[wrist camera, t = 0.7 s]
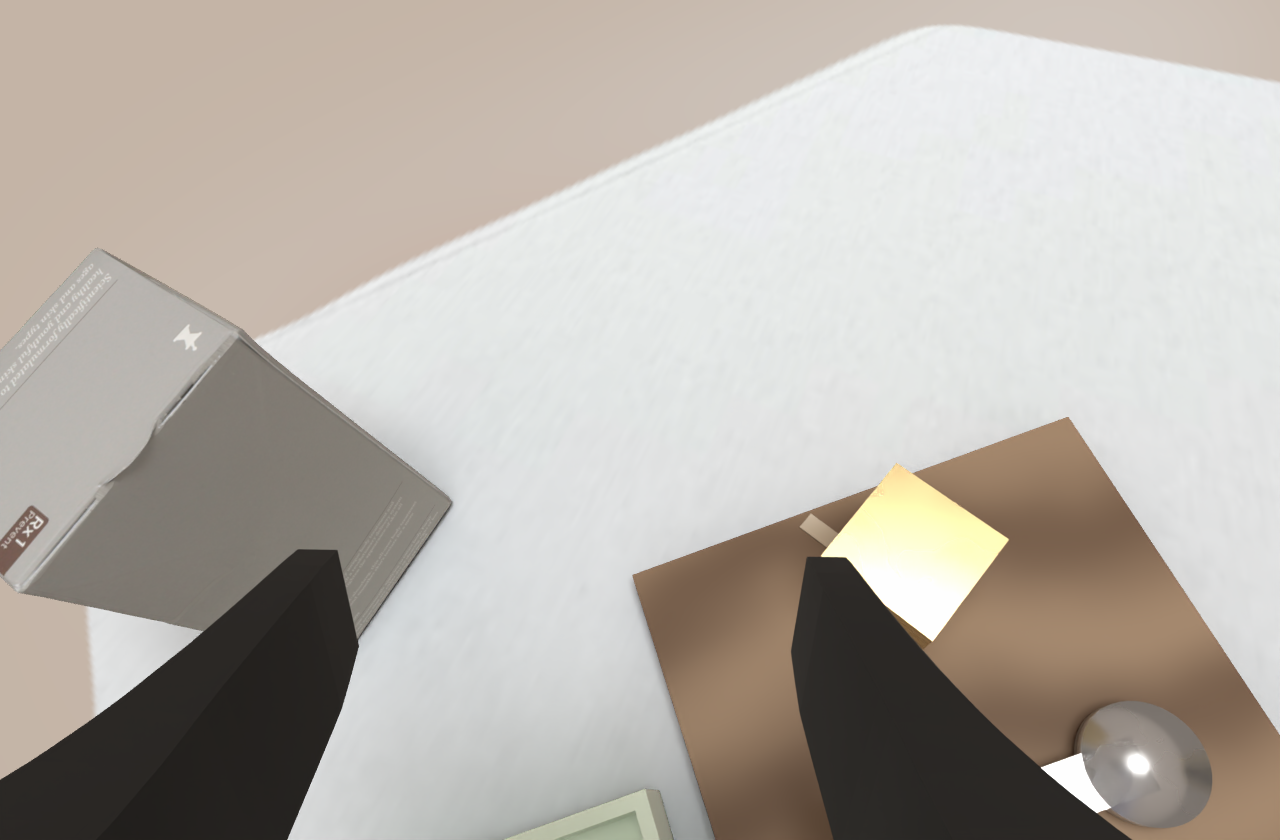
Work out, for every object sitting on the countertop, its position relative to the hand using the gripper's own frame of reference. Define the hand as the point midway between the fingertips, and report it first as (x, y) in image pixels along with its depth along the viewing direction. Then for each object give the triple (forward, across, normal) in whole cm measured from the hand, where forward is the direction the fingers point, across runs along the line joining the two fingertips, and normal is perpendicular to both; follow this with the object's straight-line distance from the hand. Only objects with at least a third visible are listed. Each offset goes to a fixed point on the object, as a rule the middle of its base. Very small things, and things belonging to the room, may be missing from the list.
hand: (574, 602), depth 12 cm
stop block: (+13, -11, +11) cm, 20 cm away
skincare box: (+18, +11, +14) cm, 25 cm away
